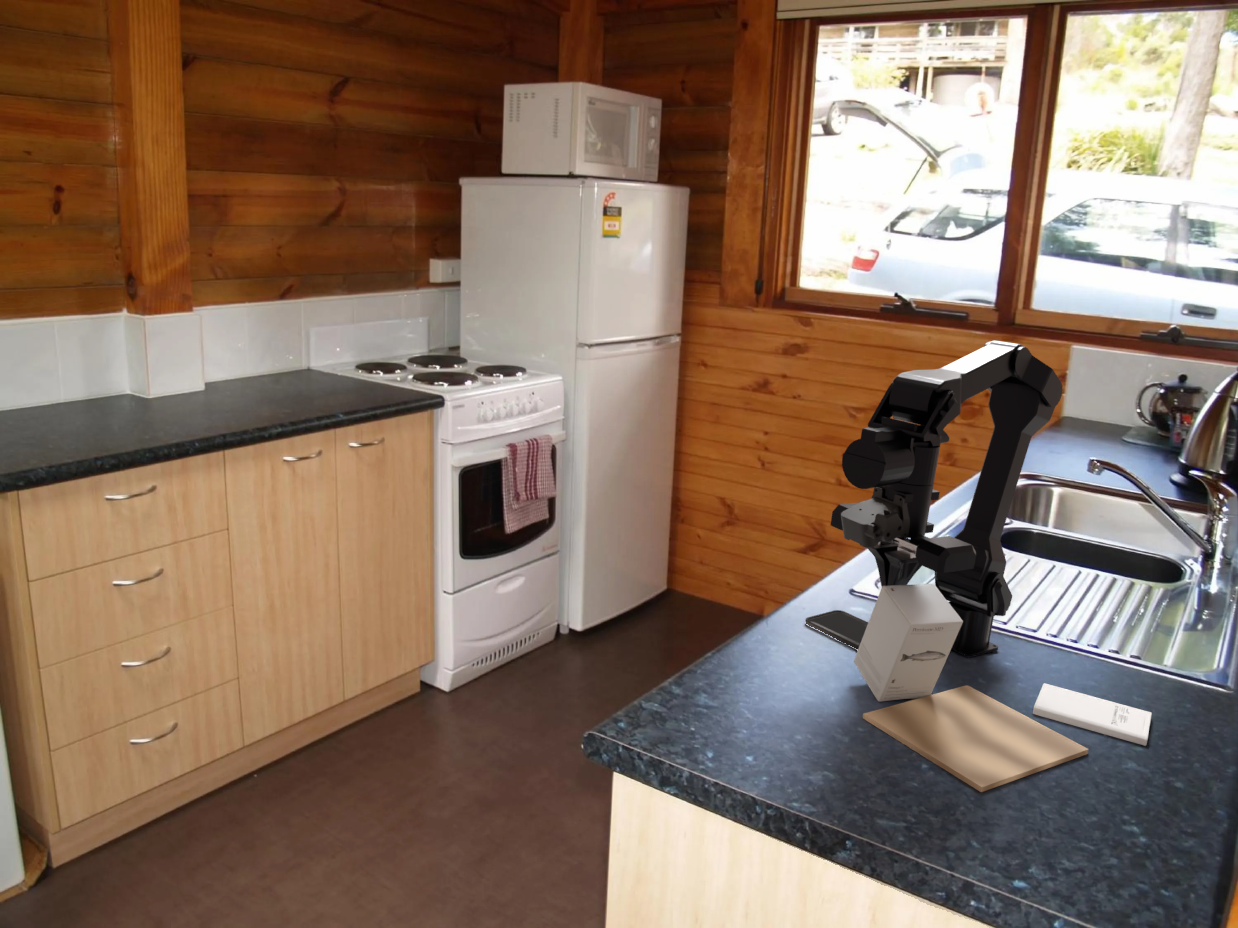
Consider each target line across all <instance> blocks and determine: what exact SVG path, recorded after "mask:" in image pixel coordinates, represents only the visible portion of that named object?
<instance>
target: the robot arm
mask: <svg viewBox="0 0 1238 928" xmlns="http://www.w3.org/2000/svg"><path fill="white" fill-rule="evenodd" d="M986 390H988V391H989V392H990V395H989V399H988V408H989V412H990V415H991V416H990V417H991V419H992V424H993V431H992V434H991V437H990V441H989V444H988V446H987V450H986V453H985V457H984V459H983V460H984V461H983V464H982V467H981V470H980V473H979V476H978V477H979V478H978V480H977V483H976V487H975V490H974V493H973V495H972V496H973V497H972V500H971V503H970V506H969V509H968V510H969V511H968V513H967V516H966V520H965V523H964V526H963V529H962V530H960V532H958V534H956V535H955V536H950V535H946V536H938V537H928V536H926V534H930V533H934V532H933V531H934V527H935V524H934V523H932V522H929V516H930V515H929V514H930V508H931V503H932V501H939V497H940V494H941V493H940V492H941V491H940V490H936V489H934V485H935V478H936V472H937V468H938V461H939V455H940V451H941V450H940V449H941V444H945V443H946V444H947V443H948V442H950V436H949V435H948V433H947V432H946V431H945V430H944V429H945V428H946V426H948V425H949V424H950V423H951V422H952V421H953V420H954V419H956V418H958V417H959V416H960V414H961V411H962V409H961V408H962V404H963V403H964V402H966V401H967V400H968V399H971V398H974V396H977V395H978V394H980V393H982V392H984V391H986ZM885 391H886V392H885V393H884V395H882V396H883V397H882V398H881V400H880V402H879V403H878V405H877V407H876V409H875V411H874V413H873V414H872V416H871V417H870V420H869V421H868V423H867V427H864V428H862V429H861V434H860V438H858V439H856V440H853V441H852V442H851V443H850V444H849V445H848V446H847V447H846V449H845V451H844V453H843V454H842V457H841V458H842V459H841V466H842V471H843V473H844V474H843V475H844V476H845V478H846V479H847V481H848V482H849V483H850V484H851V485H852V486H854V487H855V488H857V489H861V490H867V489H868V490H869V489H873V490H872V491H873V492H872V496H871V498H868V499H867V500H861V502H851V503H839V504H837V506H836V507H835V508H834V509H833V511H832V513H831V521H830V527H833V528H834V529H835V528H836V529H837V530H840V531H842V533H843V538H844V539H846V540H847V541H850V540H851V541H853V542H854V543H856V544H859V545H860V547H862V548H866V549H867V550H868V551H869V552H870V553H871V554H872V555H873V556H874V559H875V562H876V567H877V570H878V575H879V576H878V577H879V580H880V581H879V582H880V586H881V588H882V586H890V585H909V582H911V580H912V578H913V577H914V576H915V575H916V574H917V572H918V571H919V570H920V569H921V568H922V567H925V568H927V569H929V570H931V571H933V572H934V584H935V586H936V587H937V588H938V590H939V591H940V592H941V594H942V595H943V596H944V598H945V599H946V600H947V601H948V602H949V604H950V605H951V606H952V608H953V609H954V610H955V611H956V613H957V614H958V615H959V617H960V618H961V619H962V620H963V623H962V625H961V628H960V630H959V632H958V635H957V637H956V639H955V641H954V644H953V646H952V648H951V650H952V651H954V652H956V653H958V654H960V655H962V656H964V657H966V658H972V657H977V656H979V655H984V654H987V653H991V652H995V651H998V650H999V646H998V645H996V644H995V643H992V642H991V641H990V640H991V635H992V630H993V629H992V628H993V623H994V617H995V616H996V617H1004V616H1006V613H1007V612H1008V611H1009V608H1010V606H1011V603H1012V600H1013V593H1012V592H1011V589H1010V588H1009V585H1008V583H1007V581H1006V579H1005V577H1004V575H1005V571H1006V565H1007V560H1006V557H1005V552H1004V549H1003V545H1002V542H1001V538H1002V534H1003V532H1004V529H1005V526H1006V521H1007V519H1008V515H1009V512H1010V508H1011V506H1012V502H1013V498H1014V495H1015V492H1016V489H1017V486H1018V482H1019V479H1020V476H1021V473H1022V470H1023V466H1024V463H1025V459H1026V457H1027V453H1028V449H1029V447H1030V443H1031V440H1032V438H1033V436H1034V435H1035V434H1036V433H1037V432H1039V431H1040V430H1041V429H1042V428H1043V427H1044V426H1045V425H1047V424H1048V423H1049V422H1050V421H1051V419H1052V416H1053V414H1054V412H1055V408H1056V406H1058V405H1059V403H1060V401H1061V399H1062V395H1063V384H1062V381H1061V380H1060V378H1059V377H1058V375H1057V374H1056V372H1055V371H1054V369H1053V368H1052V367H1051V366H1049V365H1047V364H1046V363H1044V362H1043V361H1042V360H1040V359H1039V358H1037V357H1035V356H1034V355H1033V354H1032V353H1031V351H1030V350H1029V348H1027V347H1026V346H1024V345H1023V344H1021V343H1014V342H1010V341H1002V340H992V341H987V342H986V343H985V344H984V345H983V347H981V348H979V349H976V350H975V351H973V352H971V353H969V354H967V355H964V356H963V357H961V358H959V359H956V360H955V361H952V362H950V363H949V364H947V365H944V366H942V367H940V368H935V369H913V370H910V371H904V372H901V373H899V374H898V375H896V376H895V377H894V379H893V380H892V382H891V383H890V384H889V386H888V388H887V389H886V390H885Z"/></svg>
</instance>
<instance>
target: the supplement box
mask: <svg viewBox="0 0 1238 928" xmlns="http://www.w3.org/2000/svg"><path fill="white" fill-rule="evenodd" d="M949 602H950V601H947V600H946V599H945V598H944V596H943V595H942V594H941V592H940V591H939V590H938V588H937V587H936V586H935V583H922V584H921V583H919V584H918V583H917V584H907V585H890V586H882V587H881V589H880V591H879V594H878V596H877V599H876V601H875V604H874V607H873V610H872V612H871V615H870V618H869V620H868V621H867V622H868V625H867V628H866V630H865V633H864V636H863V638H862V641H861V643H860V646H859V649H858V651H857V650H856V651H857V652H856V654H855V658H854V660H853V663H854V665H855V666H856V668H857V670H858V672H859V673H860V675H861V676H862V678H863V679H864V681H865V683H866V684H867V686H868V687H869V689H870V690H871V692H872V694H873V695H874V697H875V699H876V701H878V702H879V703H880V702H887V701H899V700H915V699H918V698H922V697H926V696H929V695H932V693H933V691H934V688H935V686H936V684H937V682H938V680H939V677H940V675H941V672H942V670H943V668H944V666H945V664H946V662H947V660H948V657H949V655H950V652H951V650H952V649H951V648H952V646H953V644H954V641H955V639H956V637H957V635H958V632H959V630H960V628H961V625H962V623H963V620H962V619H961V618H960V617H959V615H958V614H957V613H956V611H955V610H954V609H953V608H952V606H951V605H950V604H949Z"/></svg>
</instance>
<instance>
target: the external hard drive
mask: <svg viewBox="0 0 1238 928" xmlns="http://www.w3.org/2000/svg"><path fill="white" fill-rule="evenodd" d="M1032 714H1033V715H1035V716H1040V717H1043V718H1046V719H1051V720H1053V721H1057V722H1060V723H1062V724H1064V723H1065V724H1067V725H1070V726H1074V727H1077V728H1081V729H1085V730H1089V731H1093V732H1094V733H1095V732H1096V733H1099V734H1103V735H1106V736H1110V737H1114V738H1117V739H1121V740H1124V741H1128V742H1130V743H1133V744H1138V745H1142V746H1145V747H1146V746H1147V743H1148V739H1149V733H1150V732H1149V731H1150V726H1151V721H1152V716H1153V715H1152V714H1153V713H1152V712H1151V711H1147V710H1145V709H1144V710H1143V709H1140V708H1136V707H1133V706H1130V705H1125V704H1121V703H1118V702H1114V701H1111V700H1107V699H1103V698H1099V697H1097V696H1096V697H1095V696H1093V695H1089V694H1085V693H1082V692H1077V691H1076V690H1075V691H1074V690H1071V689H1066V688H1065V687H1064V688H1063V687H1060V686H1056V685H1052V684H1048V683H1045V682H1044V683H1043V684H1042V687H1041V688H1040V691H1039V694H1038V696H1037V698H1036V701H1035V703H1034V706H1033V710H1032Z"/></svg>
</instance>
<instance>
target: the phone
mask: <svg viewBox="0 0 1238 928" xmlns="http://www.w3.org/2000/svg"><path fill="white" fill-rule="evenodd" d="M805 622H806V624H808V625H809V626H811V627H814V628H815V629H818V630H820V631H822V632H824V633H825V634H828V635H830V636H832V637H833V638H836V639H837V640H839V641H841V642H843V643H846V644H847V645H850V646H852V647H854V648H856V649H859V646H860V643H861V641H862V638H863V636H864V633H865V630H866V628H867V625H868V622H869V621H866V620H864V619H862V618H860V617H857V616H855V615H853V614H851V613H848V612H846V611H844V610H840V609H839V610H837V609H835V610H831V611H828V612H823V613H820V614H816V615H812V616H808V617H805Z"/></svg>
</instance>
